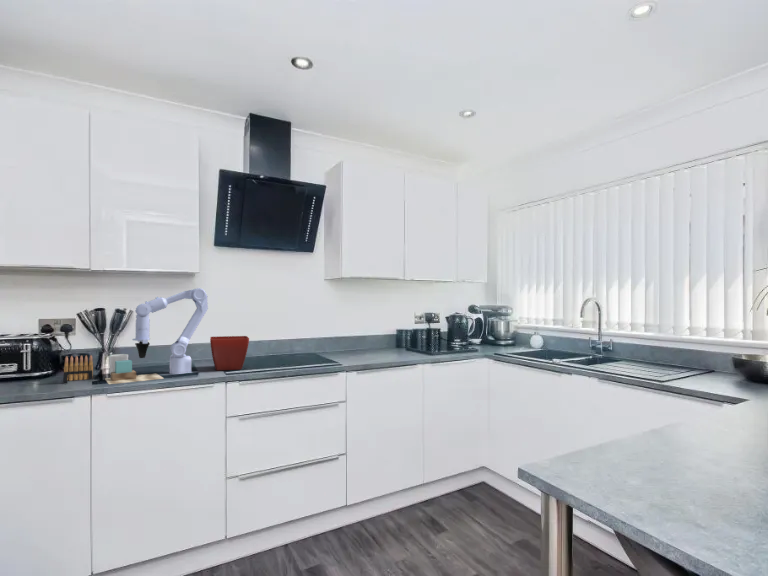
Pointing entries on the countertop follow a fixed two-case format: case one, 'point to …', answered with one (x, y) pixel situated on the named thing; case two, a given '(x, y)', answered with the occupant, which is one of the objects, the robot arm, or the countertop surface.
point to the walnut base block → (123, 376)
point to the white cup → (116, 358)
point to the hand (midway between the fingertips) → (142, 357)
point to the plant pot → (229, 351)
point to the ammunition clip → (78, 369)
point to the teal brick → (123, 366)
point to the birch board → (138, 378)
